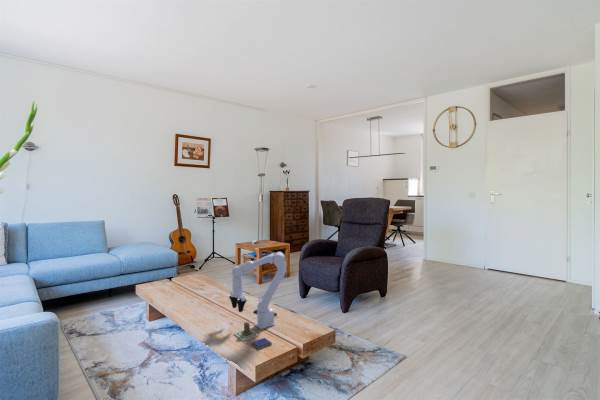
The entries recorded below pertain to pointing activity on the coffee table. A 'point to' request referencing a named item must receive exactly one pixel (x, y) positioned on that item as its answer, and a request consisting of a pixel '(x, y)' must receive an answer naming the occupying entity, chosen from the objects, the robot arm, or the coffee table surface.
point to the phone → (274, 313)
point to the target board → (246, 336)
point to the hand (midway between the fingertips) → (237, 309)
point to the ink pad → (261, 343)
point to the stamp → (246, 329)
